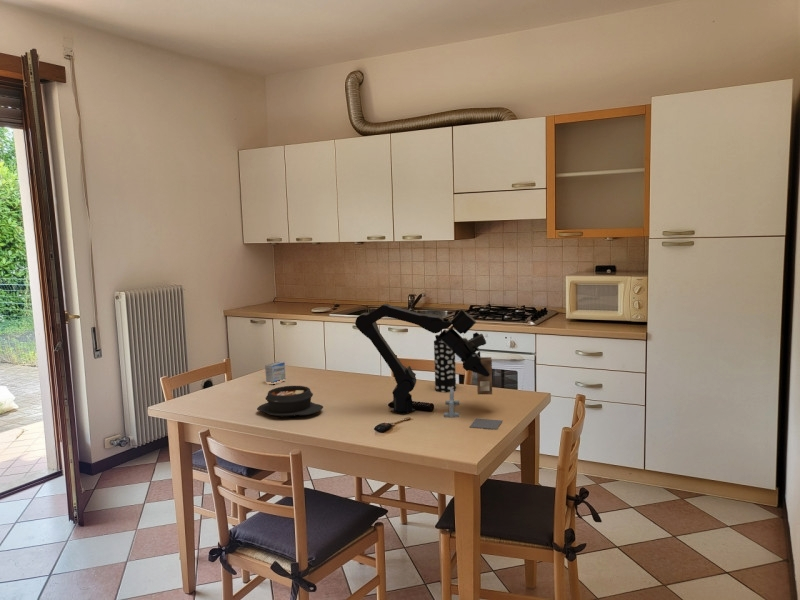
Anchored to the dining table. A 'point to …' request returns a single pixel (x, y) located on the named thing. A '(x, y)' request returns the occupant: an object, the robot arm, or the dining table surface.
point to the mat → (486, 423)
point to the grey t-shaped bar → (451, 405)
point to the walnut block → (485, 377)
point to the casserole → (290, 402)
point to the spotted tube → (444, 367)
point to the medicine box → (275, 372)
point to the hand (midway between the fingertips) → (488, 373)
